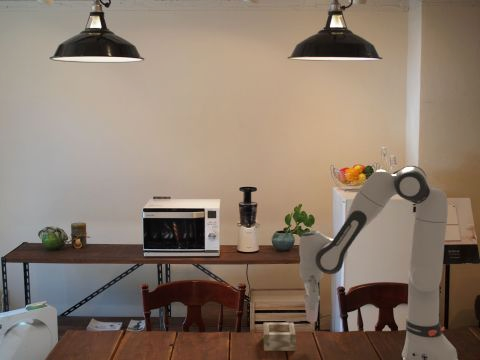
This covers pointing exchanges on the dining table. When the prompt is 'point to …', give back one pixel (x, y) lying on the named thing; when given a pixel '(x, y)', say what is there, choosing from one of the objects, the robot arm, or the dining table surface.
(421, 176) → the robot arm
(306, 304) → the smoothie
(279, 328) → the box
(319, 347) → the dining table surface
